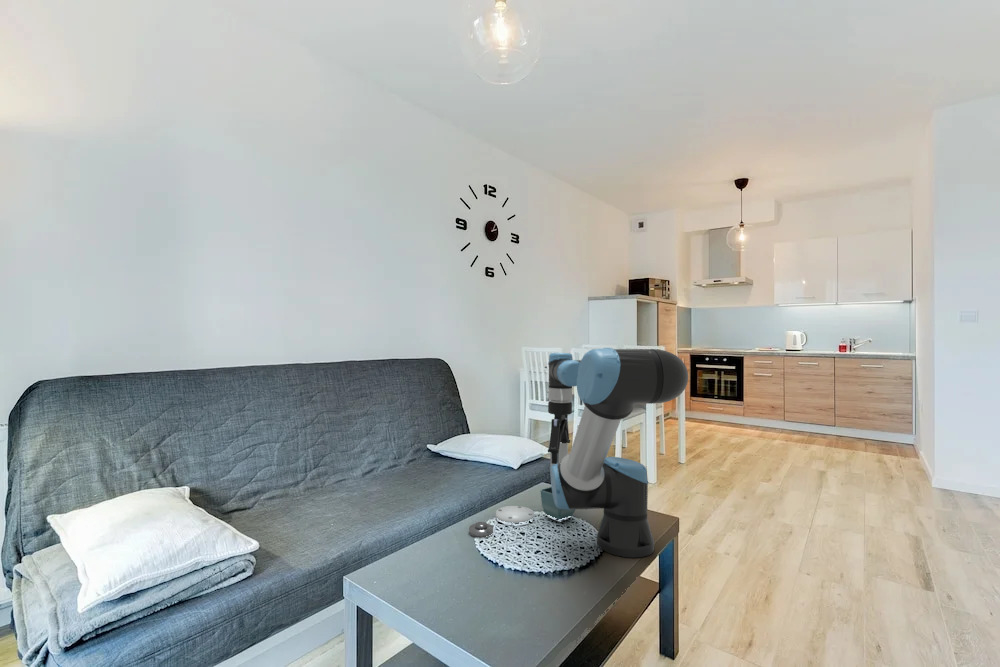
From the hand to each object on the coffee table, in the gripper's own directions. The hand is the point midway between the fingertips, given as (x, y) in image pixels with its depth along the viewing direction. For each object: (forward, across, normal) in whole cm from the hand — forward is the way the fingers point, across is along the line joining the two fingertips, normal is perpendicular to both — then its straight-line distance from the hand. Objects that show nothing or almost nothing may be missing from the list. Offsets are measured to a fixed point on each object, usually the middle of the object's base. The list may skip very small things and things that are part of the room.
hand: (559, 468), depth 145 cm
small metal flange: (+16, +19, -19) cm, 31 cm away
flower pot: (+16, 0, 0) cm, 16 cm away
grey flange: (+16, +5, -13) cm, 21 cm away
